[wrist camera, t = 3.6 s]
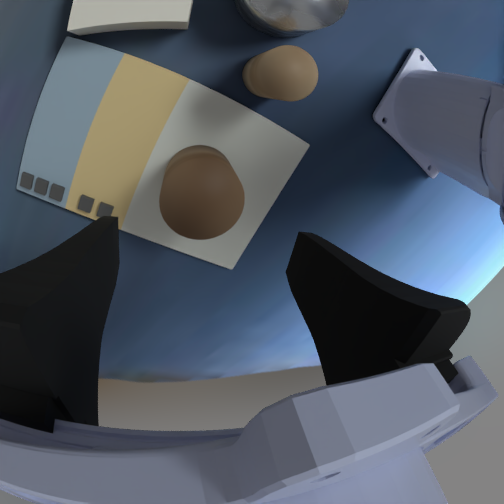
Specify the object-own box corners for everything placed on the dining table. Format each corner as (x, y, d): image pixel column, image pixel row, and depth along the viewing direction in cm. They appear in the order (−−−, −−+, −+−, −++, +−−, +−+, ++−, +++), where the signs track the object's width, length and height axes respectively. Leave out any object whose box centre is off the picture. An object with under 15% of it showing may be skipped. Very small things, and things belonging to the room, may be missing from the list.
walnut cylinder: (245, 163, 18) (260, 182, 15) (213, 219, 20) (220, 250, 16) (182, 133, 16) (181, 145, 13) (153, 195, 18) (146, 222, 14)
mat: (307, 143, 18) (311, 146, 18) (231, 266, 23) (232, 272, 22) (69, 37, 11) (65, 35, 10) (18, 186, 15) (14, 190, 14)
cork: (296, 69, 15) (328, 67, 12) (273, 105, 17) (299, 112, 13) (257, 46, 14) (279, 34, 10) (233, 83, 15) (248, 81, 12)
